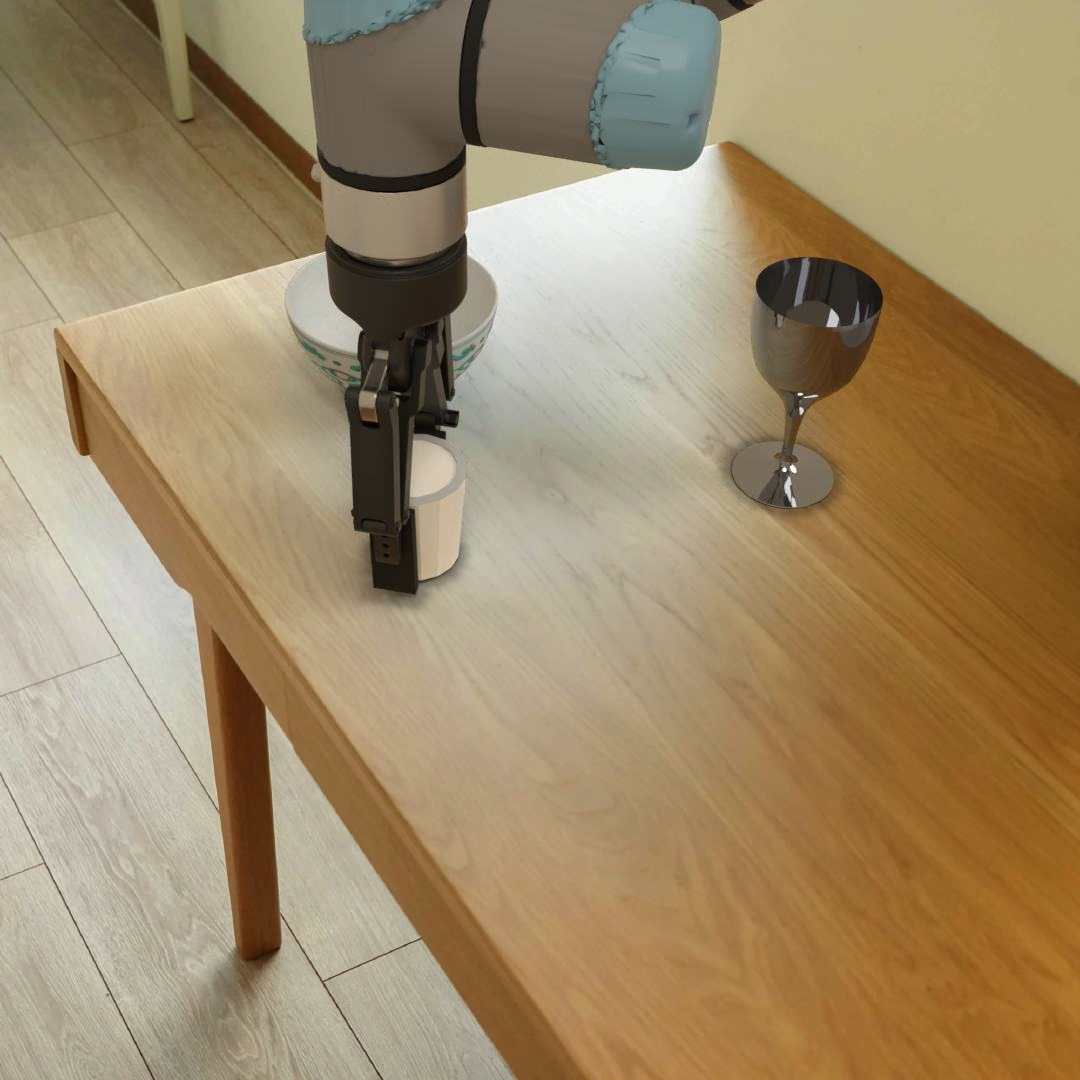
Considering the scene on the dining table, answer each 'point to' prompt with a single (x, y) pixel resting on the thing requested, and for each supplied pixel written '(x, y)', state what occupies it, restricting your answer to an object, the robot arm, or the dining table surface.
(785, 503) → the wine glass
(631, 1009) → the dining table surface
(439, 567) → the shot glass
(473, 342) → the chinaware
